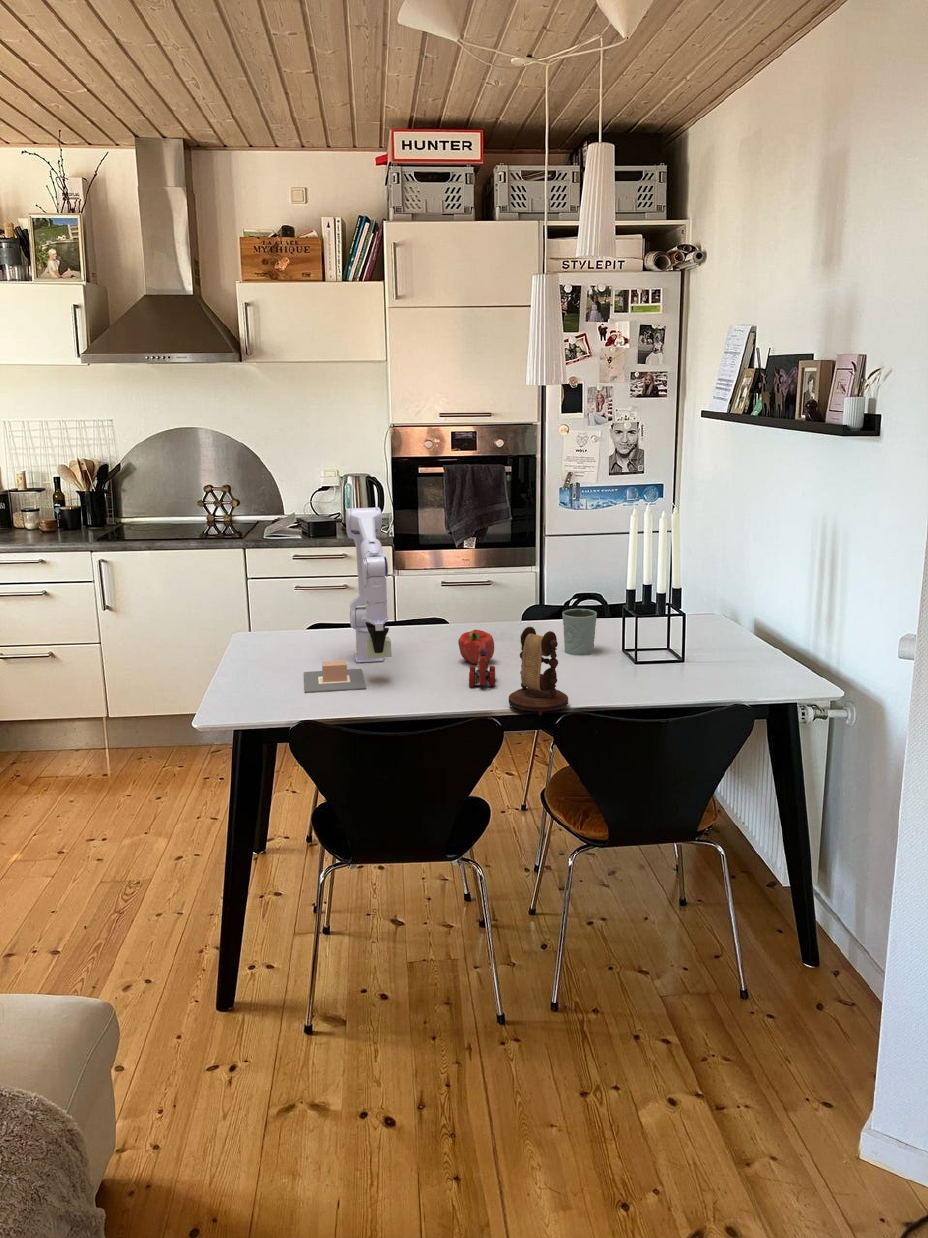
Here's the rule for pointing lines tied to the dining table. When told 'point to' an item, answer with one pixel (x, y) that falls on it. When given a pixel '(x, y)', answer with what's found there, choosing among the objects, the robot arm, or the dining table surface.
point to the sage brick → (372, 654)
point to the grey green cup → (579, 631)
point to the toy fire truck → (482, 670)
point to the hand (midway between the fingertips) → (377, 650)
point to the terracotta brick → (334, 671)
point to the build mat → (316, 684)
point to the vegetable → (475, 645)
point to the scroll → (538, 674)
